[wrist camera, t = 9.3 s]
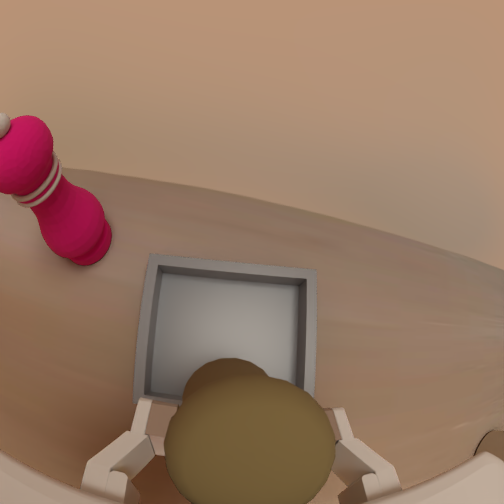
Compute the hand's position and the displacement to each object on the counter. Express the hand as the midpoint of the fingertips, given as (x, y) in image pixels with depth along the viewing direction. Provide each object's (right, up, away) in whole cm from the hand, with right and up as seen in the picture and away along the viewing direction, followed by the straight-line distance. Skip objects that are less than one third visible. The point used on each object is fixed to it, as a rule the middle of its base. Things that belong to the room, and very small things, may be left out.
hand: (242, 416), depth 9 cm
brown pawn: (-1, -3, +6) cm, 7 cm away
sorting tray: (-2, -2, +17) cm, 18 cm away
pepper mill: (-18, +8, +19) cm, 28 cm away
